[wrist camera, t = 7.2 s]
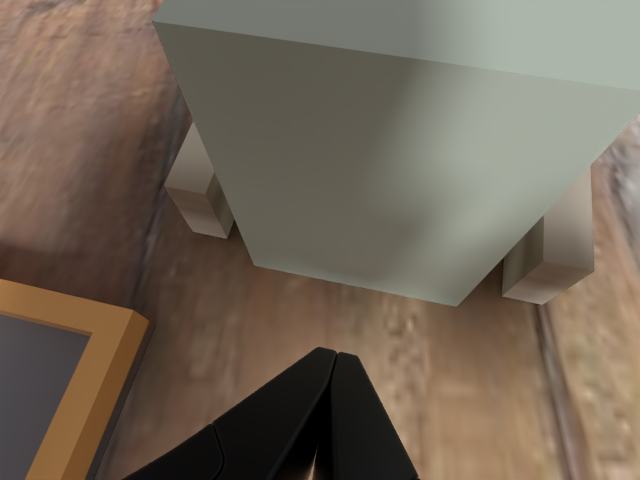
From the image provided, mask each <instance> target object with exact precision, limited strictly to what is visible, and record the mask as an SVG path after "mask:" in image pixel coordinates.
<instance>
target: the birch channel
mask: <svg viewBox="0 0 640 480" xmlns="http://www.w3.org/2000/svg"><path fill="white" fill-rule="evenodd" d="M164 187H165V189H166V191H167V192H168V194H169V195H170V197H171V198H172V200H173V202H174V203H175V205H176V206H177V208H178V209H179V211H180V212H181V214H182V216H183V217H184V219H185V220H186V222H187V223H188V225H189V227H190V228H191V230H192V231H193V232H196V233H201V234H206V235H210V236H215V237H220V238H225V239H228V236H229V233H230V230H231V227H232V225H233V222H234V216H233V214H232V212H231V209H230V207H229V204H228V202H227V200H226V197H225V195H224V192H223V190H222V188H221V185H220V183H219V180H218V178H217V176H216V173H215V171H214V169H213V166H212V164H211V161H210V159H209V157H208V154H207V152H206V149H205V147H204V145H203V142H202V140H201V137H200V135H199V133H198V130H197V128H196V125H195V123H194V121H193V122H192V125H191V127H190V129H189V131H188V133H187V136H186V138H185V140H184V142H183V144H182V147H181V149H180V151H179V153H178V155H177V158H176V160H175V162H174V164H173V166H172V168H171V171H170V173H169V175H168V177H167V179H166V182H165V184H164ZM592 272H594V248H593V223H592V198H591V174H590V166H589V167H588V169H587V170H586V171H585V172H584V173H583V174H582V175H581V176H580V177H579V178H578V179H577V180H576V181H575V182H574V183H573V184H572V185H571V187H570V188H569V189H568V190H567V191H566V192H565V193H564V194H563V195H562V196H561V197H560V198H559V199H558V200H557V201H556V202H555V203H554V205H553V206H552V207H551V208H550V209H549V210H548V211H547V212H546V213H545V214H544V215H543V216H542V217H541V218H540V219H539V220H538V221H537V223H536V224H535V225H534V226H533V227H532V228H531V229H530V230H529V231H528V232H527V233H526V234H525V235H524V236H523V237H522V238H521V240H520V241H519V242H518V243H517V244H516V245H515V246H514V247H513V248H512V249H511V250H510V251H509V252H508V253H507V254H506V255H505V256H504V264H503V282H502V297H507V298H512V299H516V300H521V301H526V302H531V303H536V304H540V305H543V304H545V303H546V302H548V301H549V300H551V299H552V298H554V297H555V296H557V295H558V294H560V293H562V292H563V291H565V290H566V289H568V288H569V287H571V286H572V285H574V284H575V283H577V282H578V281H580V280H582V279H583V278H585V277H586V276H588V275H589V274H591V273H592Z"/></svg>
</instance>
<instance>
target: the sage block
mask: <svg viewBox="0 0 640 480" xmlns="http://www.w3.org/2000/svg"><path fill="white" fill-rule="evenodd" d="M152 22H153V25H154V27H155V30H156V32H157V34H158V37H159V39H160V42H161V44H162V46H163V49H164V51H165V54H166V56H167V58H168V61H169V63H170V66H171V68H172V70H173V73H174V75H175V78H176V80H177V82H178V85H179V87H180V89H181V92H182V94H183V97H184V99H185V101H186V104H187V106H188V109H189V111H190V113H191V116H192V118H193V121H194V123H195V125H196V128H197V130H198V133H199V135H200V137H201V140H202V142H203V145H204V147H205V149H206V152H207V154H208V157H209V159H210V161H211V164H212V166H213V169H214V171H215V173H216V176H217V178H218V180H219V183H220V185H221V188H222V190H223V192H224V195H225V197H226V200H227V202H228V204H229V207H230V209H231V212H232V214H233V216H234V219H235V221H236V224H237V226H238V228H239V231H240V233H241V236H242V238H243V240H244V243H245V245H246V248H247V250H248V252H249V255H250V257H251V260H252V262H253V264H254V266H258V267H263V268H268V269H273V270H278V271H283V272H288V273H293V274H298V275H303V276H307V277H312V278H317V279H322V280H327V281H332V282H337V283H342V284H347V285H352V286H357V287H362V288H367V289H371V290H376V291H381V292H386V293H391V294H396V295H401V296H406V297H411V298H416V299H421V300H426V301H431V302H436V303H440V304H445V305H450V306H455V307H457V306H458V305H459V304H460V303H461V302H462V301H463V300H464V299H465V298H466V297H467V296H468V295H469V294H470V292H471V291H472V290H473V289H474V288H475V287H476V286H477V285H478V284H479V283H480V282H481V281H482V280H483V279H484V278H485V277H486V276H487V274H488V273H489V272H490V271H491V270H492V269H493V268H494V267H495V266H496V265H497V264H498V263H499V262H500V261H501V260H502V259H503V258H504V256H505V255H506V254H507V253H508V252H509V251H510V250H511V249H512V248H513V247H514V246H515V245H516V244H517V243H518V242H519V241H520V240H521V238H522V237H523V236H524V235H525V234H526V233H527V232H528V231H529V230H530V229H531V228H532V227H533V226H534V225H535V224H536V223H537V221H538V220H539V219H540V218H541V217H542V216H543V215H544V214H545V213H546V212H547V211H548V210H549V209H550V208H551V207H552V206H553V205H554V203H555V202H556V201H557V200H558V199H559V198H560V197H561V196H562V195H563V194H564V193H565V192H566V191H567V190H568V189H569V188H570V187H571V185H572V184H573V183H574V182H575V181H576V180H577V179H578V178H579V177H580V176H581V175H582V174H583V173H584V172H585V171H586V170H587V169H588V167H589V166H590V165H591V164H592V163H593V162H594V161H595V160H596V159H597V158H598V157H599V156H600V155H601V154H602V153H603V152H604V151H605V149H606V148H607V147H608V146H609V145H610V144H611V143H612V142H613V141H614V140H615V139H616V138H617V137H618V136H619V135H620V134H621V132H622V131H623V130H624V129H625V128H626V127H627V126H628V125H629V124H630V123H631V122H632V121H633V120H634V119H635V118H636V117H637V116H638V114H639V113H640V0H163V2H162V4H161V6H160V7H159V9H158V11H157V13H156V15H155V16H154V18H153V20H152Z"/></svg>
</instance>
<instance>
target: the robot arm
mask: <svg viewBox="0 0 640 480" xmlns="http://www.w3.org/2000/svg"><path fill="white" fill-rule="evenodd" d="M317 447H318V448H317ZM316 451H317V453H316ZM315 455H316V458H315ZM314 459H315V463H314ZM313 463H314V471H313V479H312V480H420V479H419V478H418V474H417V472H416V470H415V468H414V466H413V464H412V462H411V460H410V458H409V456H408V454H407V452H406V450H405V448H404V446H403V444H402V442H401V440H400V438H399V436H398V434H397V432H396V430H395V428H394V426H393V424H392V423H391V421H390V419H389V417H388V415H387V413H386V411H385V409H384V407H383V405H382V403H381V401H380V399H379V397H378V395H377V393H376V391H375V389H374V387H373V385H372V383H371V381H370V379H369V377H368V375H367V373H366V371H365V369H364V367H363V365H362V363H361V361H360V359H359V357H358V356H356V355H352V354H348V353H344V352H339V353H338V354H337V352H336V351H334V350H331V349H327V348H322V347H317V348H315V349H314V350H313V351H311V352H310V353H308V354H307V355H306V356H304V357H303V358H301V359H300V360H299V361H297V362H296V363H294V364H293V365H292V366H290V367H289V368H287V369H286V370H285V371H283V372H282V373H280V374H279V375H278V376H276V377H275V378H273V379H272V380H271V381H269V382H268V383H266V384H265V385H264V386H262V387H261V388H259V389H258V390H257V391H255V392H254V393H252V394H251V395H250V396H248V397H247V398H245V399H244V400H243V401H241V402H240V403H238V404H237V405H236V406H234V407H233V408H231V409H230V410H229V411H227V412H226V413H224V414H223V415H222V416H220V417H219V418H217V419H216V420H215V421H213V422H212V424H209V425H207V426H206V427H205V428H203V429H202V430H200V431H199V432H198V433H196V434H195V435H193V436H192V437H190V438H189V439H187V440H186V441H184V442H183V443H181V444H180V445H178V446H177V447H175V448H174V449H172V450H171V451H169V452H168V453H166V454H164V455H163V456H161V457H159V458H158V459H156V460H154V461H153V462H151V463H149V464H147V465H146V466H144V467H142V468H141V469H139V470H137V471H136V472H134V473H132V474H130V475H128V476H127V477H125V478H123V479H121V480H308V479H309V476H310V473H311V470H312V466H313Z"/></svg>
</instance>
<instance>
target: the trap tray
mask: <svg viewBox="0 0 640 480" xmlns="http://www.w3.org/2000/svg"><path fill="white" fill-rule="evenodd" d="M154 327H155V324H153V323H152V322H150V321H149V320H147V319H146V318H144V317H143V316H141V315H140V314H139V313H137V312H136V311H134V310H131V309H127V308H123V307H118V306H114V305H110V304H106V303H101V302H97V301H93V300H89V299H84V298H80V297H76V296H72V295H67V294H63V293H59V292H55V291H50V290H46V289H42V288H38V287H33V286H29V285H25V284H21V283H16V282H12V281H8V280H4V279H0V480H93V479H94V477H95V474H96V472H97V469H98V467H99V464H100V462H101V459H102V457H103V454H104V452H105V449H106V447H107V444H108V442H109V439H110V437H111V434H112V432H113V429H114V427H115V424H116V422H117V419H118V417H119V414H120V412H121V410H122V407H123V405H124V402H125V400H126V397H127V395H128V392H129V390H130V387H131V385H132V382H133V380H134V377H135V375H136V372H137V370H138V367H139V365H140V362H141V360H142V357H143V355H144V352H145V350H146V347H147V345H148V342H149V340H150V337H151V335H152V332H153V330H154Z"/></svg>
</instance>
